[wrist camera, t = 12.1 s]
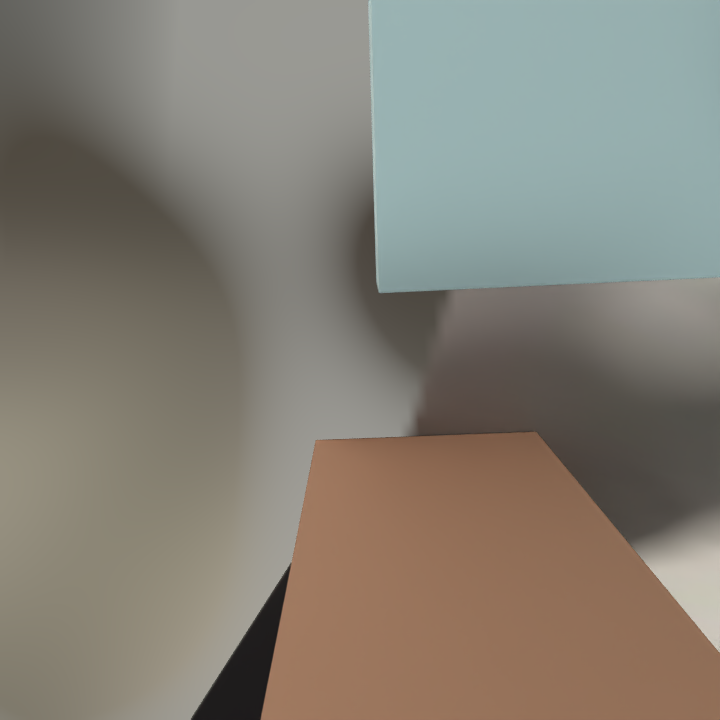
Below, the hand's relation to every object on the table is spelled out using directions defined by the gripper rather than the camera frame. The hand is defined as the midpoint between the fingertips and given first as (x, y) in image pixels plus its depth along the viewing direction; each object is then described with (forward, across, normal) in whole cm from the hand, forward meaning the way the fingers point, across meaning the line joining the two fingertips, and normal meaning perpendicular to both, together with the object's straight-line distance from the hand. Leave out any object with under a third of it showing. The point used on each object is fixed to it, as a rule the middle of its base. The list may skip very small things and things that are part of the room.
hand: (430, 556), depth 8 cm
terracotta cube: (+1, 0, 0) cm, 1 cm away
